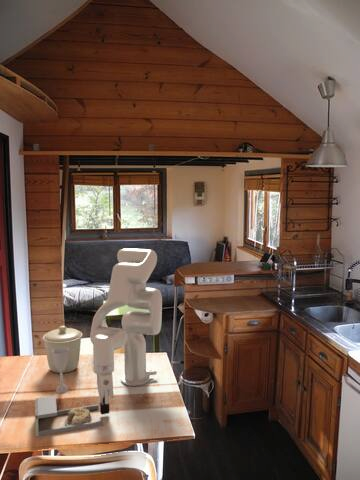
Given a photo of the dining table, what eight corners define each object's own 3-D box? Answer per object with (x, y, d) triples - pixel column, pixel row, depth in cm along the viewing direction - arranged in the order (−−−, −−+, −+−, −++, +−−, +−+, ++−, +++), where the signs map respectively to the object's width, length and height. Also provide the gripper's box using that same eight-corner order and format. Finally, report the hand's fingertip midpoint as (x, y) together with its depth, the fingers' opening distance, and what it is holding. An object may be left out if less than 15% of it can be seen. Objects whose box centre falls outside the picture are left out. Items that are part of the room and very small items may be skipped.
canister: (42, 379, 196) (40, 334, 193) (45, 362, 214) (43, 321, 211) (83, 374, 200) (82, 330, 198) (83, 359, 218) (81, 318, 215)
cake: (86, 413, 169) (86, 400, 168) (96, 425, 161) (97, 411, 160) (60, 419, 163) (61, 405, 163) (70, 432, 155) (71, 417, 154)
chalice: (65, 395, 181) (63, 353, 179) (50, 393, 183) (48, 352, 180) (73, 387, 189) (71, 347, 186) (58, 385, 190) (57, 346, 188)
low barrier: (98, 407, 171) (98, 389, 170) (103, 425, 159) (102, 405, 158) (36, 417, 164) (35, 398, 163) (36, 436, 152) (35, 415, 151)
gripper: (117, 373, 157) (118, 421, 159) (110, 358, 171) (111, 402, 174) (96, 376, 155) (97, 424, 157) (91, 360, 169) (92, 405, 171)
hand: (104, 412), depth 165 cm, fingers closed
